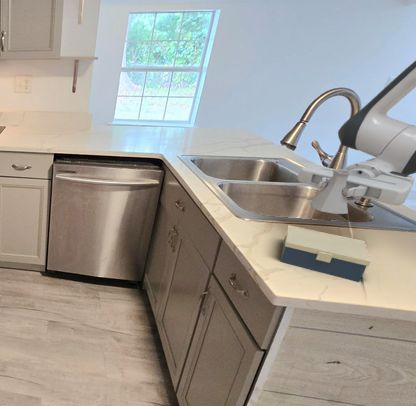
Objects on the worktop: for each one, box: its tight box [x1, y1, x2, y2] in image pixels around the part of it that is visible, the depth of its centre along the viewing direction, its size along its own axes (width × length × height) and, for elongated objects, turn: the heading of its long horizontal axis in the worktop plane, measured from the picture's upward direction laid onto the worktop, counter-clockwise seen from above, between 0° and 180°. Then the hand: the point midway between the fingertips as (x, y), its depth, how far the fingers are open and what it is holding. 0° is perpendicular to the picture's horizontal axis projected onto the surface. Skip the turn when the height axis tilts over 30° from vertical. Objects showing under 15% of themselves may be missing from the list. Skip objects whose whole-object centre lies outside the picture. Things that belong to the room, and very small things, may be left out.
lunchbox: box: [280, 224, 371, 283], centre depth 89 cm, size 14×12×6 cm
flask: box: [309, 168, 351, 215], centre depth 89 cm, size 7×7×10 cm
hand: (333, 189), depth 89 cm, fingers closed on flask, 3 cm apart
